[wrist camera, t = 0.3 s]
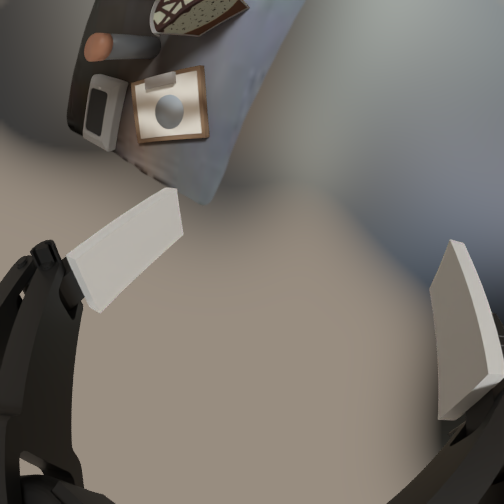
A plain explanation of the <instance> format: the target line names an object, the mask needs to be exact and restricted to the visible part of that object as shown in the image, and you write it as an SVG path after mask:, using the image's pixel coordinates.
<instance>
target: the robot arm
mask: <svg viewBox="0 0 504 504" xmlns="http://www.w3.org/2000/svg"><path fill="white" fill-rule="evenodd" d="M183 235H184V234H183V228H182V222H181V215H180V210H179V202H178V195H177V189H175V188H164V189H162V190H160V191H159V192H157V193H155V194H154V195H152V196H150V197H149V198H147V199H146V200H144V201H142V202H141V203H139V204H138V205H136V206H135V207H133V208H132V209H130V210H128V211H127V212H125V213H124V214H122V215H121V216H119V217H118V218H116V219H115V220H113V221H112V222H111V223H109V224H108V225H106V226H105V227H103V228H102V229H100V230H99V231H98V232H96V233H95V234H93V235H92V236H91V237H89V238H88V239H87V240H85V241H84V242H83V243H81V244H80V245H79V246H77V247H76V248H75V249H73V250H72V251H71V252H69V253H68V254H67V255H66V257H65V258H64V259H62V260H61V258H60V255H59V253H58V250H57V248H56V245H55V243H54V241H53V240H46V241H43V242H41V243H39V244H37V245H36V246H35V247H34V248H32V250H31V251H30V253H31V255H32V256H29V255H28V256H23V257H21V258H20V259H19V260H18V261H17V262H16V263H15V264H14V265H13V267H12V268H11V269H10V270H9V272H8V273H7V274H6V276H5V277H4V278H3V280H2V281H1V282H0V504H115V503H114V502H112V501H111V500H110V499H108V498H107V497H106V496H104V495H103V494H99V493H95V492H92V491H89V490H87V489H84V484H83V478H82V477H83V476H82V469H81V464H80V461H79V459H78V457H77V456H76V454H75V453H74V451H73V448H72V441H71V408H72V387H73V374H74V363H75V355H76V347H77V340H78V334H79V327H80V322H81V316H82V311H83V304H82V302H81V300H82V299H83V298H84V297H85V299H86V301H87V303H88V305H89V307H90V308H92V309H93V310H95V311H97V312H99V313H101V312H102V311H103V310H104V309H105V308H106V307H107V306H108V305H109V304H110V303H111V302H112V301H113V300H114V299H115V298H116V297H117V296H118V295H119V294H120V293H121V292H122V291H123V290H124V289H125V288H126V287H127V286H128V285H129V284H130V283H131V282H132V281H134V280H135V279H136V278H137V277H138V276H139V275H140V274H141V273H142V272H143V271H144V270H145V269H146V268H147V267H148V266H149V265H151V264H152V263H153V262H154V261H155V260H156V259H157V258H158V257H159V256H160V255H161V254H163V253H164V252H165V251H166V250H167V249H168V248H169V247H170V246H171V245H173V244H174V243H175V242H176V241H177V240H178V239H179V238H180V237H182V236H183ZM22 290H23V292H24V294H25V296H24V299H23V300H22V298H21V296H20V295H19V294H20V293H21V291H22ZM429 290H430V296H431V302H432V309H433V316H434V323H435V332H436V343H437V356H438V376H439V377H438V378H439V405H438V420H456V419H458V418H459V417H460V416H461V415H463V414H464V413H465V412H466V421H465V422H464V423H462V424H461V425H459V426H458V427H457V428H455V429H454V430H452V431H451V432H450V433H449V434H448V435H449V436H450V435H452V434H454V435H453V436H452V437H451V438H450V440H449V441H448V442H447V443H446V445H445V446H444V447H443V448H442V449H441V451H440V452H439V453H438V454H437V455H436V456H435V458H434V459H433V460H432V461H431V462H430V463H429V464H428V465H427V466H426V467H425V468H424V470H422V471H421V473H419V474H418V476H417V477H416V478H414V480H412V481H411V482H410V483H409V484H408V485H407V486H406V487H405V488H404V489H403V490H402V491H401V492H400V493H398V494H397V495H396V496H395V497H394V498H393V499H392V500H390V501H389V502H388V503H387V504H504V327H503V324H502V323H501V321H500V319H499V318H498V316H497V315H496V314H495V313H491V310H490V306H489V303H488V301H487V298H486V295H485V292H484V289H483V287H482V284H481V282H480V279H479V277H478V274H477V272H476V270H475V267H474V265H473V262H472V260H471V258H470V256H469V253H468V251H467V249H466V247H465V245H464V243H461V242H457V241H454V240H449V243H448V246H447V249H446V251H445V254H444V256H443V259H442V261H441V264H440V266H439V268H438V271H437V273H436V275H435V278H434V280H433V282H432V284H431V286H430V288H429ZM19 458H21V459H23V460H25V461H27V462H29V463H31V464H33V465H35V466H37V467H39V468H40V469H41V470H42V472H43V474H44V475H24V476H20V469H19Z"/></svg>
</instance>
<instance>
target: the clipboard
mask: <svg viewBox="0 0 504 504" xmlns="http://www.w3.org/2000/svg"><path fill="white" fill-rule="evenodd" d="M131 90H132V100H133V110H134V118H135V126H136V133H137V140H138V143H145V142H154V141H165V140H177V139H192V138H207V137H209V126H208V114H207V101H206V87H205V72H204V66H201V65H200V66H195V67H190V68H185V69H180V70H176V71H172V72H168V73H164V74H160V75H157V76H153V77H149V78H146V79H143V80H139V81H136V82H133V83H131Z"/></svg>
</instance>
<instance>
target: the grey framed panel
mask: <svg viewBox="0 0 504 504" xmlns="http://www.w3.org/2000/svg"><path fill="white" fill-rule="evenodd" d="M128 83H129V82H126V81H123V80H120V79H117V78H113V77H110V76H106V75H103V74H96V75H93V77H92V79H91V82H90V87H89V93H88V98H87V105H86V111H85V119H84V127H83V138H85V139H86V140H88V141H90V142H92V143H93V144H95V145H97V146H99V147H100V148H102V149H104V150H105V151H107V152H110V151H112V150H115V147H116V141H117V134H118V129H119V123H120V118H121V113H122V108H123V104H124V99H125V95H126V91H127V87H128Z"/></svg>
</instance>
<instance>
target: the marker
mask: <svg viewBox="0 0 504 504" xmlns="http://www.w3.org/2000/svg"><path fill="white" fill-rule="evenodd" d="M160 48H161V42H160V40H159V39H158V38H157V37H151V36H140V35H127V34H109V33H95V34H93V35H91V36H90V37H89V39H88V40H87V42H86V45H85V50H84V54H85V58H86V60H87V61H89V62H92V61H103V60H112V59H152V58H154V57H155V56H157V54H158V53H159V51H160Z"/></svg>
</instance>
